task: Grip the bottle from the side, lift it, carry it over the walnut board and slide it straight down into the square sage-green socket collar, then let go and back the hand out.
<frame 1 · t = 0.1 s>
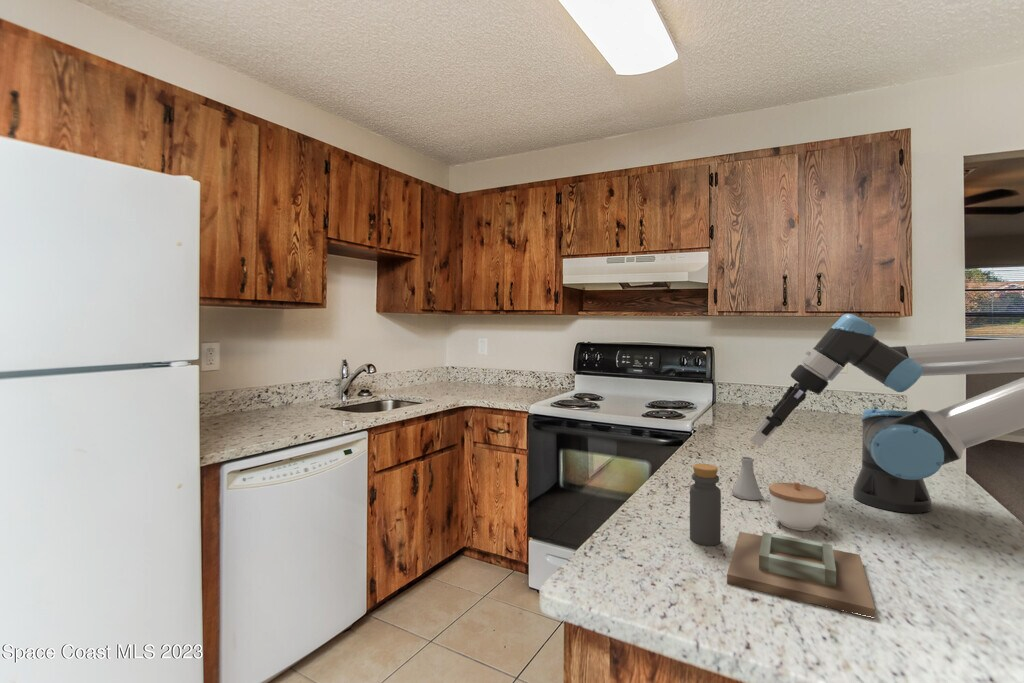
hand: (756, 438, 121), 15 cm above the worktop, tool tilted 35°, fingers open, 13 cm apart
bottle: (704, 540, 97), on the worktop
flask: (747, 497, 123), on the worktop
socket board: (796, 572, 84), on the worktop
lidded jar: (796, 526, 105), on the worktop
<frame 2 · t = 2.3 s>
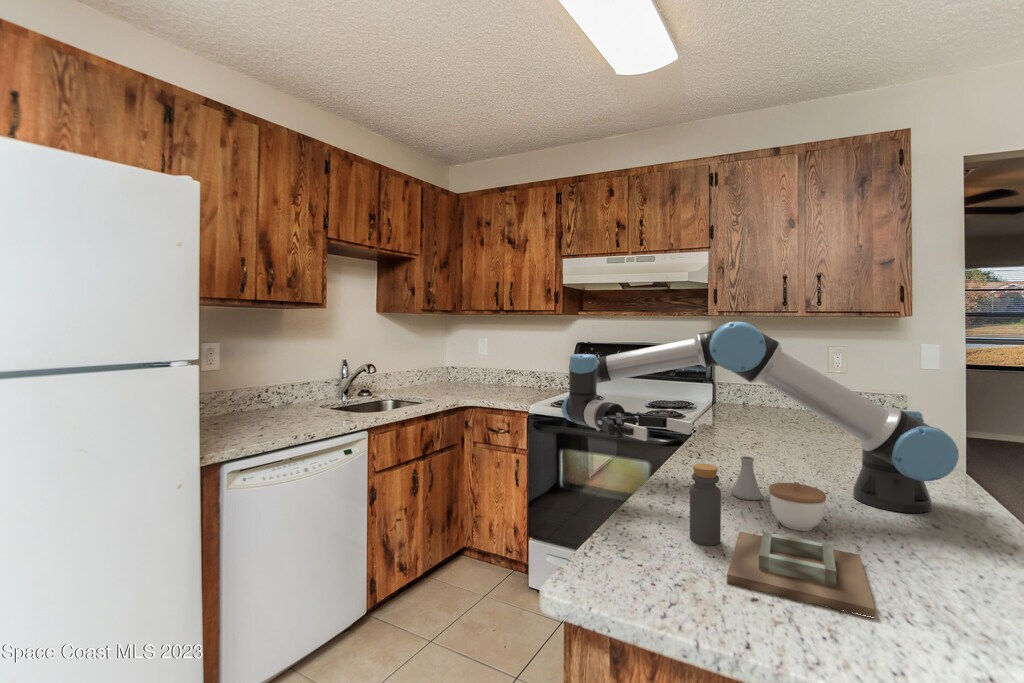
hand: (668, 431, 105), 20 cm above the worktop, tool horizontal, fingers open, 13 cm apart
nothing on the worktop moved.
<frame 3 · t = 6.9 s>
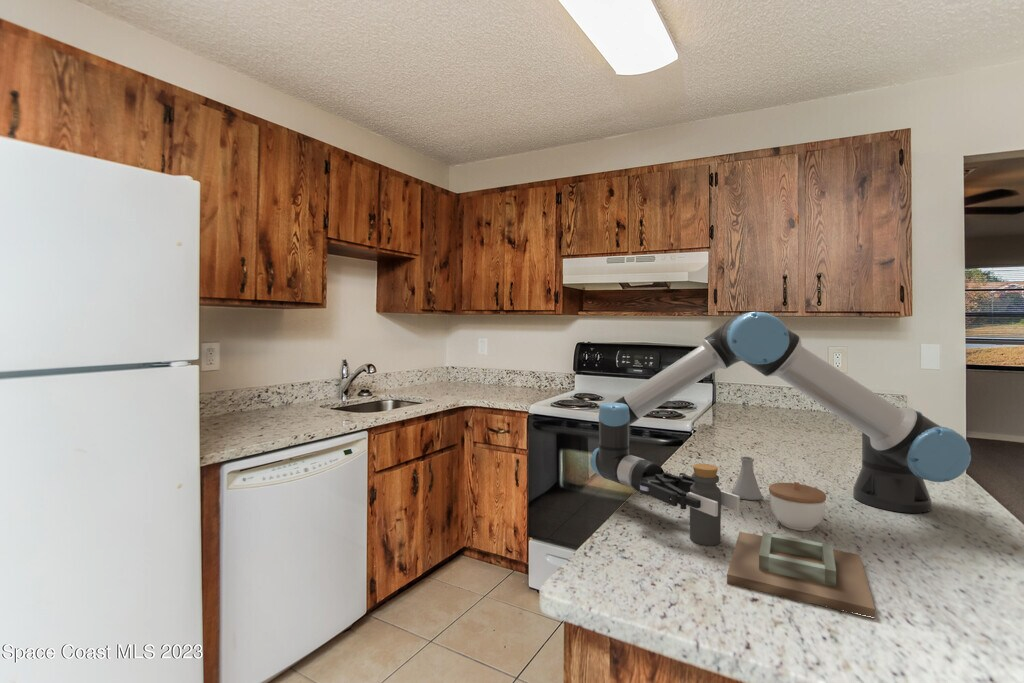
hand: (727, 506, 93), 9 cm above the worktop, tool horizontal, fingers closed on bottle, 6 cm apart
bottle: (704, 540, 97), on the worktop, touching gripper
everything else where it was.
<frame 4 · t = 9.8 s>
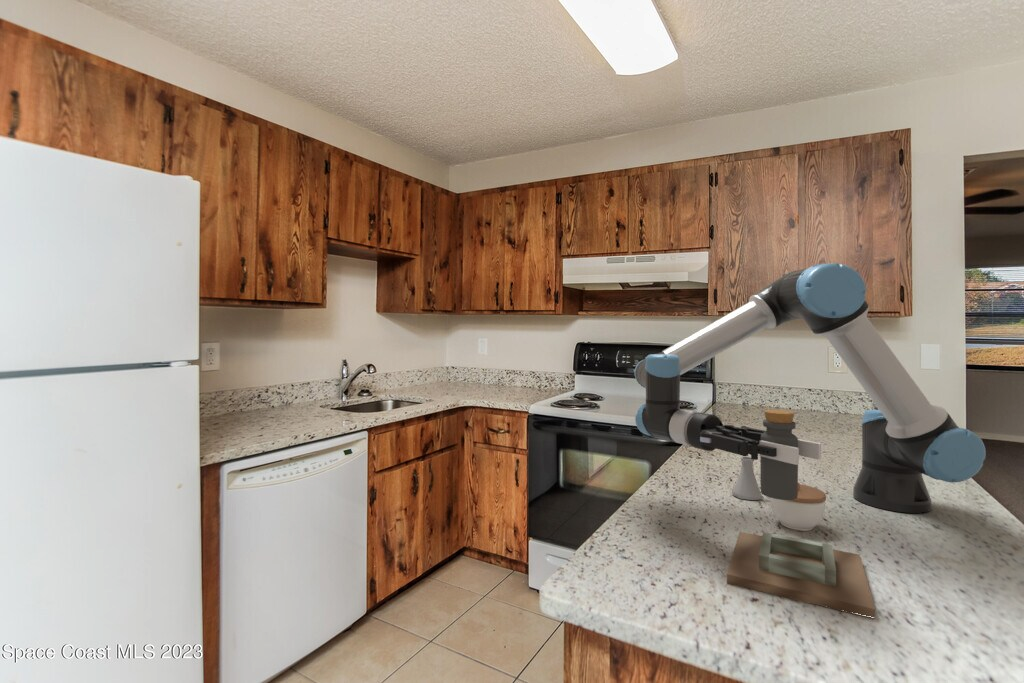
hand: (808, 453, 81), 22 cm above the worktop, tool horizontal, fingers closed on bottle, 6 cm apart
bottle: (778, 495, 86), point 13 cm above the worktop, touching gripper
everything else where it was.
when the fingers open (11 cm above the worktop, at t = 12.9 s): bottle stays where it is, resting on socket board.
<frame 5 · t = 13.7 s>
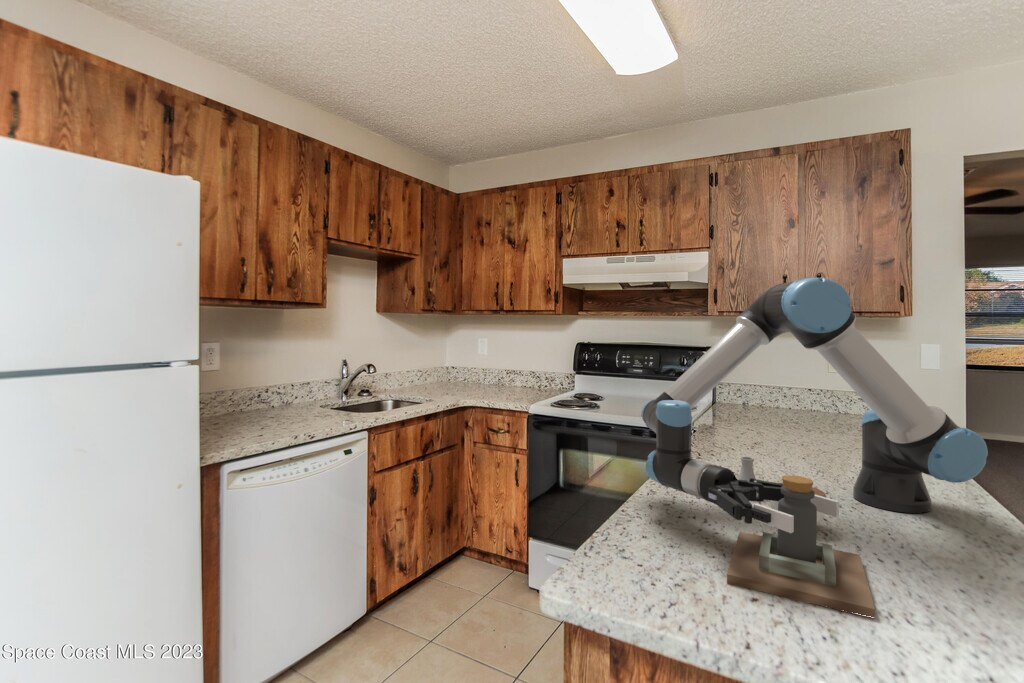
hand: (816, 516, 81), 11 cm above the worktop, tool horizontal, fingers open, 13 cm apart
bottle: (796, 564, 84), point 1 cm above the worktop, touching socket board
everything else where it was.
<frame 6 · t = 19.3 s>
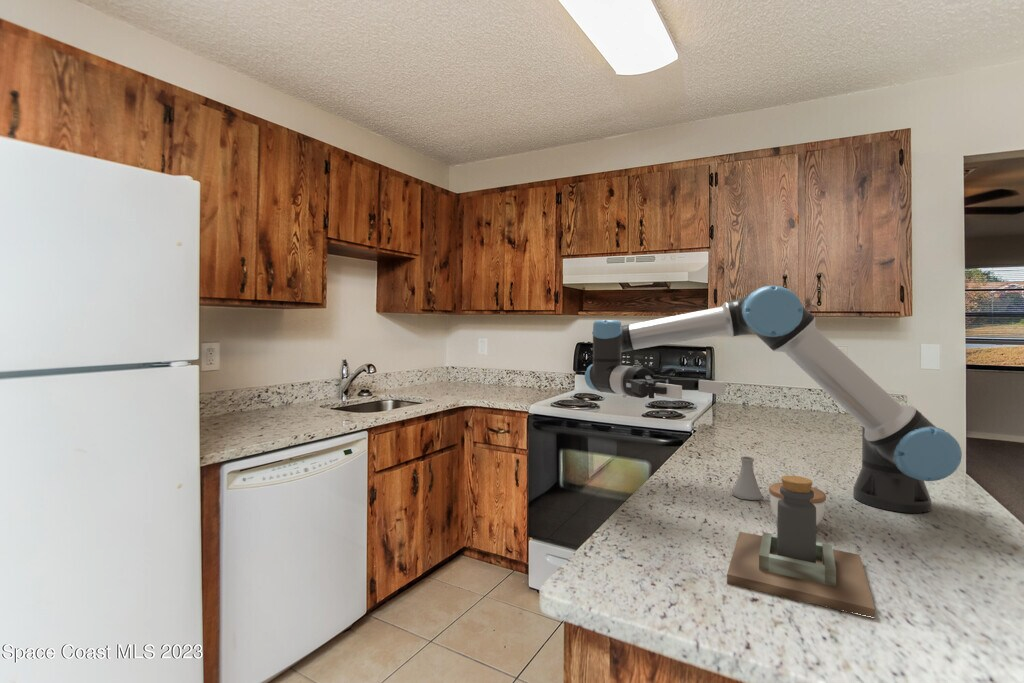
hand: (703, 390, 101), 30 cm above the worktop, tool horizontal, fingers open, 13 cm apart
nothing on the worktop moved.
at the end: bottle 0.0 cm from the socket board (horizontally); bottle point 1.3 cm above the worktop; bottle tilted 0° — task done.
